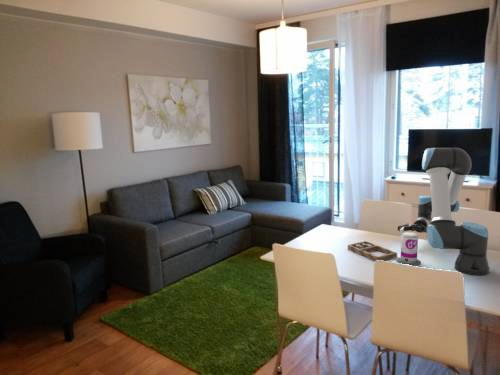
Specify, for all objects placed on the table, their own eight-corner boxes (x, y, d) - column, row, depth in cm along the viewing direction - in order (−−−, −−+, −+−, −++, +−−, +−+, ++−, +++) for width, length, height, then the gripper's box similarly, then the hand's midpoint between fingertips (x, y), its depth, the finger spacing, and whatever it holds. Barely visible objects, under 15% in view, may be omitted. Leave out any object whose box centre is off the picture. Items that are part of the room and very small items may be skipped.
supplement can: (418, 264, 204) (419, 236, 201) (401, 263, 205) (402, 235, 203) (415, 258, 212) (416, 231, 209) (399, 257, 213) (400, 231, 210)
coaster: (426, 263, 206) (426, 262, 206) (409, 267, 201) (409, 266, 200) (407, 256, 216) (407, 255, 216) (391, 260, 211) (391, 259, 211)
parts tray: (396, 257, 216) (397, 252, 215) (377, 261, 209) (377, 257, 209) (366, 244, 237) (366, 240, 236) (347, 248, 231) (347, 244, 230)
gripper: (444, 234, 226) (438, 243, 208) (398, 228, 239) (389, 237, 222) (444, 221, 224) (438, 230, 207) (399, 216, 238) (390, 224, 221)
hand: (413, 233), depth 214 cm, fingers open, 13 cm apart
